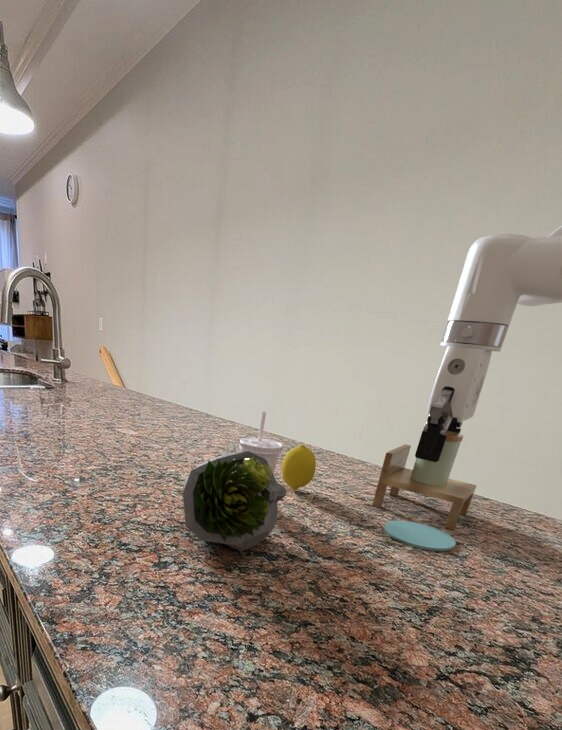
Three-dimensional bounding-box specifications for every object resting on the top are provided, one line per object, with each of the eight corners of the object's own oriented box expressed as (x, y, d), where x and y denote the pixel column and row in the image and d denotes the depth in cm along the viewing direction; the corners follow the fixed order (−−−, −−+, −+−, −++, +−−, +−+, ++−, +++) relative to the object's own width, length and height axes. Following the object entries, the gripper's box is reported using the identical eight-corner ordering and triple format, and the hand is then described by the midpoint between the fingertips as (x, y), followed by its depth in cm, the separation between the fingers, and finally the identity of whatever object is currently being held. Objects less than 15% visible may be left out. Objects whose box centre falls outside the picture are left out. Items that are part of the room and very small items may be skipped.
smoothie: (259, 495, 73) (273, 409, 68) (280, 510, 68) (298, 417, 62) (224, 497, 71) (236, 408, 65) (243, 512, 65) (258, 417, 60)
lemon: (290, 482, 81) (299, 439, 78) (317, 492, 77) (326, 447, 74) (271, 487, 77) (279, 442, 74) (297, 497, 74) (307, 450, 70)
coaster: (461, 538, 63) (462, 535, 63) (446, 557, 57) (447, 555, 57) (395, 518, 69) (396, 515, 68) (375, 534, 62) (376, 531, 62)
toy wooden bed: (466, 514, 73) (485, 461, 70) (453, 530, 66) (473, 472, 62) (391, 493, 80) (405, 444, 77) (371, 505, 73) (386, 452, 70)
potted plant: (291, 503, 61) (329, 517, 46) (215, 558, 62) (227, 589, 47) (240, 431, 60) (261, 421, 45) (163, 487, 60) (159, 496, 46)
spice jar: (450, 482, 71) (466, 434, 68) (442, 489, 68) (459, 438, 65) (415, 473, 75) (428, 427, 72) (405, 479, 71) (419, 430, 68)
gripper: (494, 337, 55) (448, 470, 61) (511, 343, 67) (471, 453, 74) (428, 332, 59) (392, 457, 66) (456, 338, 71) (423, 443, 78)
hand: (434, 455), depth 70 cm, fingers open, 9 cm apart
